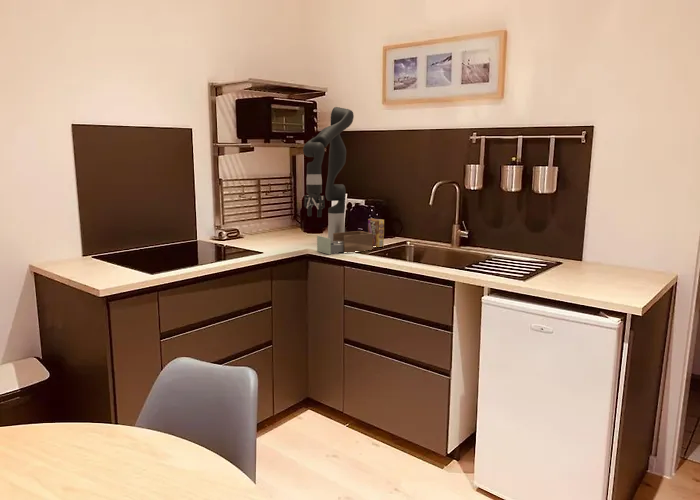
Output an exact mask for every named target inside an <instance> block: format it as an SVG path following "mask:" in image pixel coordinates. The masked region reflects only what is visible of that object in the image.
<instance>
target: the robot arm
mask: <svg viewBox="0 0 700 500" xmlns="http://www.w3.org/2000/svg"><path fill="white" fill-rule="evenodd" d="M330 112H331V113H330V125H329V126H327V127H324V128H323V129H322V130H321V131H319V133H318V134H317V135H316V136H314V137H312V138H311V139H309V140H308V141H307V142H306V143H304V145H303V148H302V152H303V154H304V156H305V157H307V158H313V160H312V161H309V162H307V164H306V195H304V208H305V209H307V217H312V216H313V209H312V208H313V206H315V207H316V209H317V212H316V213H317V214H316V217H317V218H322V216H323V209H325V208H326V205H325V202H326V201H330V202H333V201H334V202H335V201H337V203H336V204H334V205H332V206H330V207H328V208H327V209H328V210H327V212H328V213H327V214H328V215H327V216H328V220H327V221H328V225H327V238H330V239H331V243H333V233H341V232H346V227H345V225H346V224H345V223H346V218H345V215H346V213H345V212H346V211H345V210H346V192H347V190H346V186H345V185H344V184H343V183H340V184H338V183H335V180H336V178H337V176H338V174H339V173H340V172H341V171H342V169H343V168H344V166H345V165H346V159H347V149H346V145H345V143H344V140H343V139H342V137H341V133H343V132H344V131H345V130H346V129H348V128H349V127H350V126H351V125H352V123H353V121H354V112H353V110H351V109H349V108H345V107H338V106H335V107H333V108H332V110H331V111H330ZM328 145H329V153H328V169H327V178H326V184H325V195H321V194H322V193H323V186H322V185H323V179H322V164H323V161H324V157H325V152H326V151H325V149H326V147H327V146H328ZM325 199H326V201H325Z"/></svg>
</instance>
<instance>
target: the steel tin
mask: <svg viewBox="0 0 700 500" xmlns="http://www.w3.org/2000/svg"><path fill="white" fill-rule="evenodd" d="M333 243H334V245H342V244H344V241H333Z"/></svg>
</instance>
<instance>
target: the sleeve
mask: <svg viewBox="0 0 700 500" xmlns="http://www.w3.org/2000/svg"><path fill="white" fill-rule="evenodd" d="M333 241H344V252H355V251H364V250H372V249H373V248H374V247H373V234H372V233H368V231H362V230H357V231H355V230H354V231H345V232H341V233H333ZM355 253H356V252H355Z"/></svg>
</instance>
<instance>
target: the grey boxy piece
mask: <svg viewBox="0 0 700 500" xmlns="http://www.w3.org/2000/svg"><path fill="white" fill-rule="evenodd" d="M316 242H317V243H316V251H317V252H319V253H320V252H321V253H323V254H326V255H329V256H331V255H332V254H339V253H338V252H344V244H342V245H334V243H331V239H330V238H328V237H326V236H322V235H316Z"/></svg>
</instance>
